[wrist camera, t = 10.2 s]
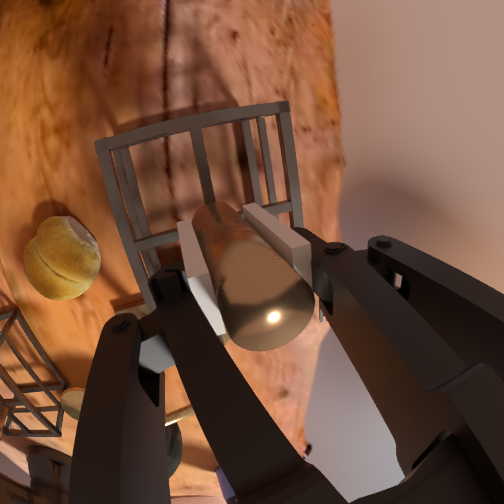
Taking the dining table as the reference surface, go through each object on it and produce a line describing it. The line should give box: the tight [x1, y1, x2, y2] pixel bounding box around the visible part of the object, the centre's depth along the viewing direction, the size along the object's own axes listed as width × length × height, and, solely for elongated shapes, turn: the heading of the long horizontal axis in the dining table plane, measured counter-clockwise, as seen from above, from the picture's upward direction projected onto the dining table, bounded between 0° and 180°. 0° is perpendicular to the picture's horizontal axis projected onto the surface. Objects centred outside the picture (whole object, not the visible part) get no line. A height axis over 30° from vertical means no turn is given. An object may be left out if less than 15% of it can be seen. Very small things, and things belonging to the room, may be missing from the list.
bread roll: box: [23, 216, 101, 300], centre depth 22 cm, size 8×9×4 cm
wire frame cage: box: [94, 101, 315, 351], centre depth 17 cm, size 12×14×19 cm
